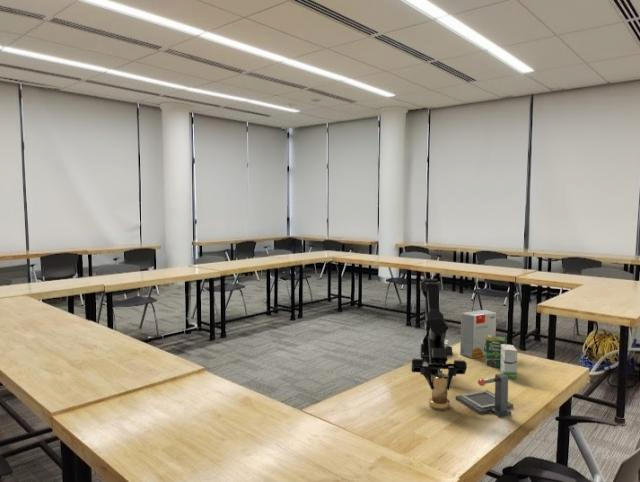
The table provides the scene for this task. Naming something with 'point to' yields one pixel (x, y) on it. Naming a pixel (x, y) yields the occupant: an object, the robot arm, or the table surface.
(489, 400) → the press bed
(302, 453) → the table surface
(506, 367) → the ink box
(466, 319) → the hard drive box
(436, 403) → the amber cylindrical piece
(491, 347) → the coffee box
